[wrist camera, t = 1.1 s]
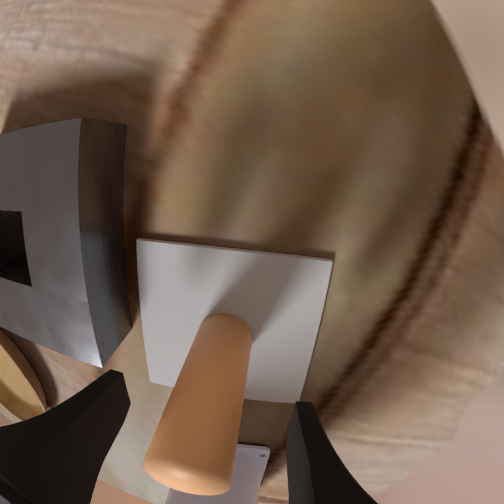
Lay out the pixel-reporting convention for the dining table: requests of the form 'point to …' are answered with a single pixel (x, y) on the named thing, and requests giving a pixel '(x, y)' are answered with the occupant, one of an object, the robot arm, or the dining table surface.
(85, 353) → the socket block
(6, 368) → the plant saucer
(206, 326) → the peg
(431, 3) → the dining table surface
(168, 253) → the mat
